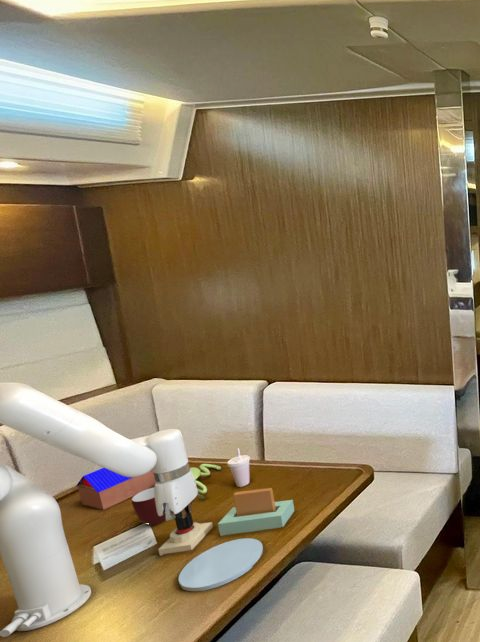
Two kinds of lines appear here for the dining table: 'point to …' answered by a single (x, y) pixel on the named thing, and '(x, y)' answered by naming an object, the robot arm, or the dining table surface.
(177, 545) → the control block
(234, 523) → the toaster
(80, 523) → the dining table surface
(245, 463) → the smoothie
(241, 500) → the copper rectangular plank
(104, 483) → the house
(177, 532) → the stop button
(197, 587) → the plate
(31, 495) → the robot arm
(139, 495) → the mug
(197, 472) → the figurine
